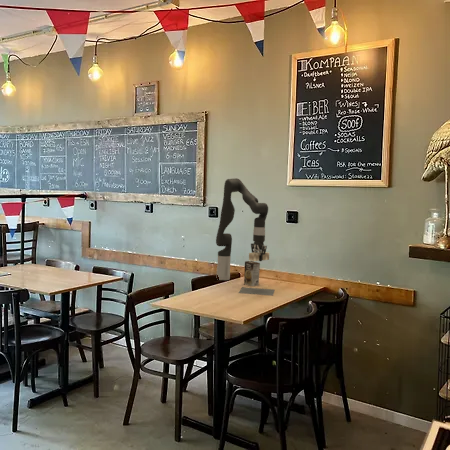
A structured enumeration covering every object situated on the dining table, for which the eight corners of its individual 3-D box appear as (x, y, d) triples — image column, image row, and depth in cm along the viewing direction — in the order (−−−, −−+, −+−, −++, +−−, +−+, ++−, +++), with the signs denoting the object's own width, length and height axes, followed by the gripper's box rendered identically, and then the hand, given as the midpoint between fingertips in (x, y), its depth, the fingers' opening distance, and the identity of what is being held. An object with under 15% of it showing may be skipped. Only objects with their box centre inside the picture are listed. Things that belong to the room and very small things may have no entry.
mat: (238, 293, 299) (238, 293, 299) (242, 287, 316) (242, 287, 316) (272, 296, 296) (272, 295, 296) (274, 290, 312) (274, 289, 312)
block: (268, 259, 306) (253, 261, 299) (264, 258, 310) (248, 260, 303) (269, 252, 306) (253, 254, 298) (264, 251, 310) (249, 252, 302)
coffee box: (243, 284, 327) (244, 261, 326) (250, 283, 331) (251, 260, 330) (252, 286, 320) (253, 263, 318) (259, 285, 324) (260, 262, 322)
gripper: (247, 233, 306) (246, 259, 308) (261, 235, 294) (260, 262, 296) (256, 232, 310) (255, 258, 312) (270, 235, 299) (269, 261, 300)
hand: (258, 260), depth 304 cm, fingers closed on block, 4 cm apart
